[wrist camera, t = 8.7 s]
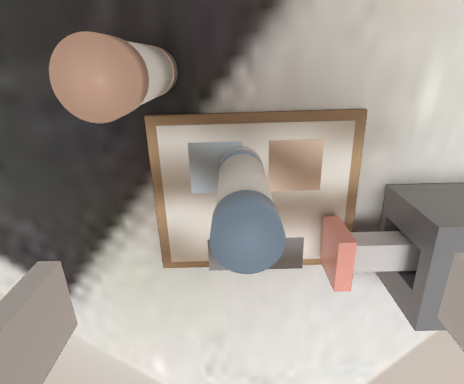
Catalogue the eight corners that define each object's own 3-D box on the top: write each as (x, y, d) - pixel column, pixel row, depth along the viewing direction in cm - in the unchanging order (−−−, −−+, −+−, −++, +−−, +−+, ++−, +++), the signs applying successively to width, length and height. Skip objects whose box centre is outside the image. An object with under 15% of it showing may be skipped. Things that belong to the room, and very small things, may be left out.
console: (386, 184, 26) (440, 227, 19) (474, 182, 26) (559, 225, 19) (373, 268, 29) (415, 331, 22) (452, 267, 29) (519, 329, 22)
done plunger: (323, 216, 26) (339, 242, 22) (416, 214, 26) (447, 240, 22) (320, 260, 27) (333, 291, 23) (407, 257, 27) (435, 289, 23)
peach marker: (127, 45, 22) (39, 32, 12) (177, 44, 22) (130, 29, 12) (134, 97, 24) (59, 124, 13) (181, 95, 24) (142, 122, 13)
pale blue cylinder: (217, 145, 24) (207, 208, 14) (263, 144, 24) (287, 206, 14) (219, 188, 25) (211, 274, 15) (263, 187, 25) (284, 273, 15)
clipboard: (146, 115, 24) (143, 116, 23) (364, 108, 24) (368, 110, 23) (164, 265, 29) (163, 271, 28) (345, 261, 29) (348, 267, 28)
